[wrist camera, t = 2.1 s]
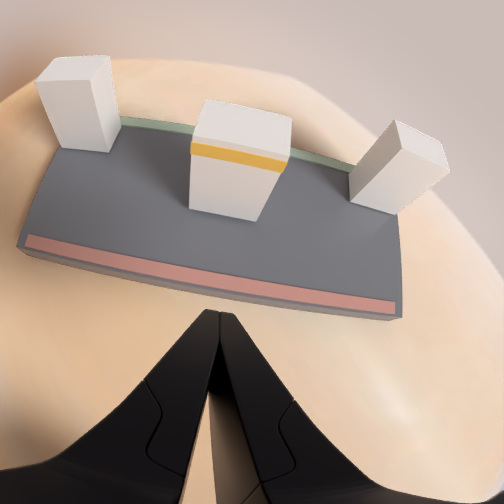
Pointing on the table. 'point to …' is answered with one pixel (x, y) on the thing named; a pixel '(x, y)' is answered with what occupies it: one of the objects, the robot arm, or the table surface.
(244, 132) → the yellow-banded white block
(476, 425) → the table surface
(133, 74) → the table surface
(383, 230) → the grey tray with blocks
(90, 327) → the table surface
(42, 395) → the table surface
